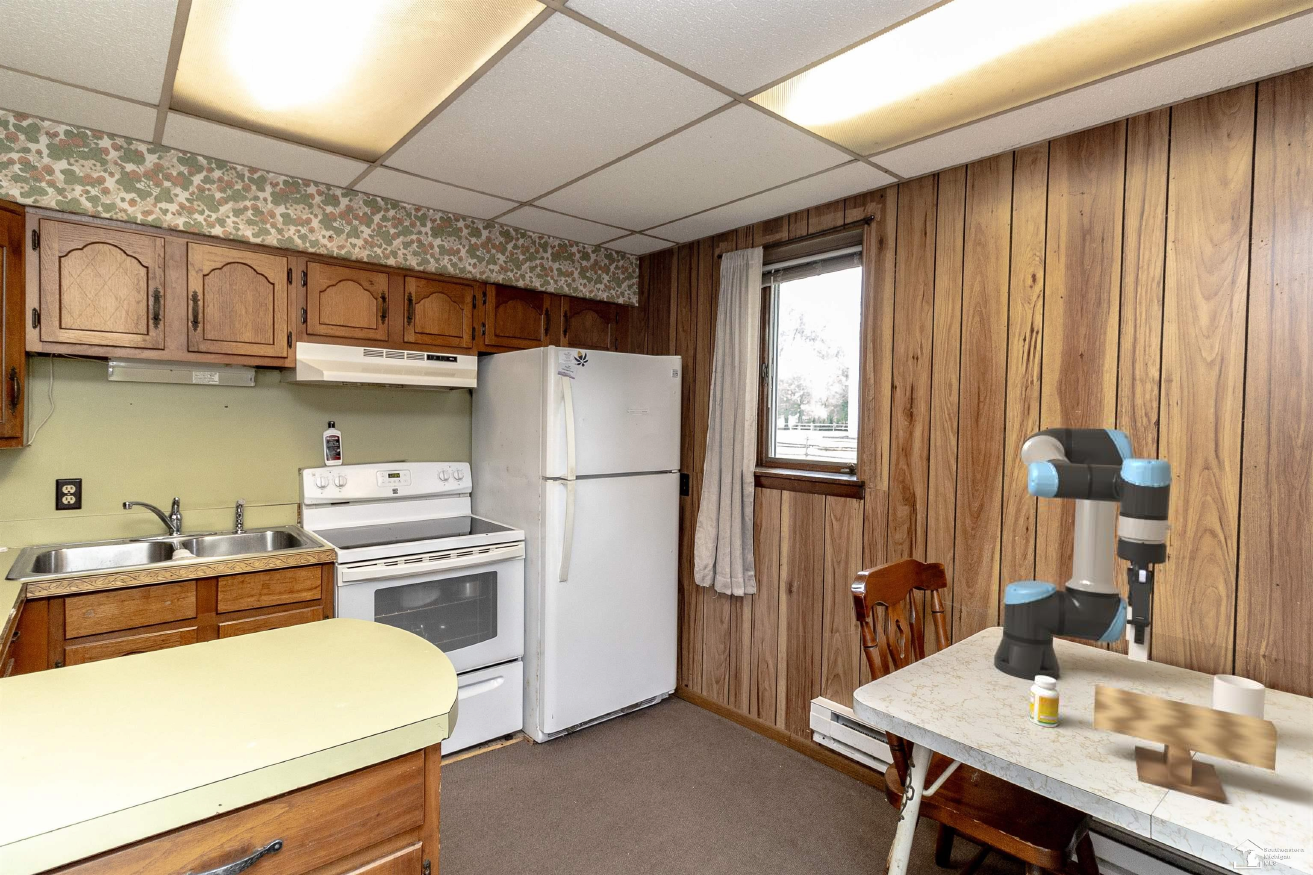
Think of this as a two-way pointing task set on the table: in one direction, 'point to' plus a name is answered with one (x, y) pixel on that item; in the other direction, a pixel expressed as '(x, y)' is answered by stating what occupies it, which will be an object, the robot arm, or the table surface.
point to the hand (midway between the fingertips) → (1135, 650)
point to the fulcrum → (1178, 772)
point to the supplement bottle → (1044, 702)
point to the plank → (1186, 726)
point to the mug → (1238, 696)
